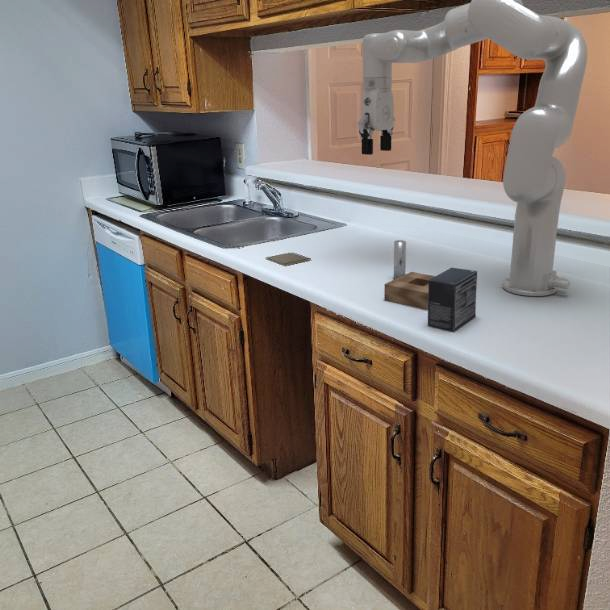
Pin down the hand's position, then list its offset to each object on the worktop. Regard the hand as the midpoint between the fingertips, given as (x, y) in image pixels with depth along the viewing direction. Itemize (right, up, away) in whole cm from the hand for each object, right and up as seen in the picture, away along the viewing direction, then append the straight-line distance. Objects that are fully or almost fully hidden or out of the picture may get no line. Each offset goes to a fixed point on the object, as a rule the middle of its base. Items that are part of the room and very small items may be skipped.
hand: (376, 152), depth 163 cm
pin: (+5, -35, -6) cm, 35 cm away
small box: (+12, -45, -35) cm, 58 cm away
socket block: (+8, -40, -20) cm, 45 cm away
